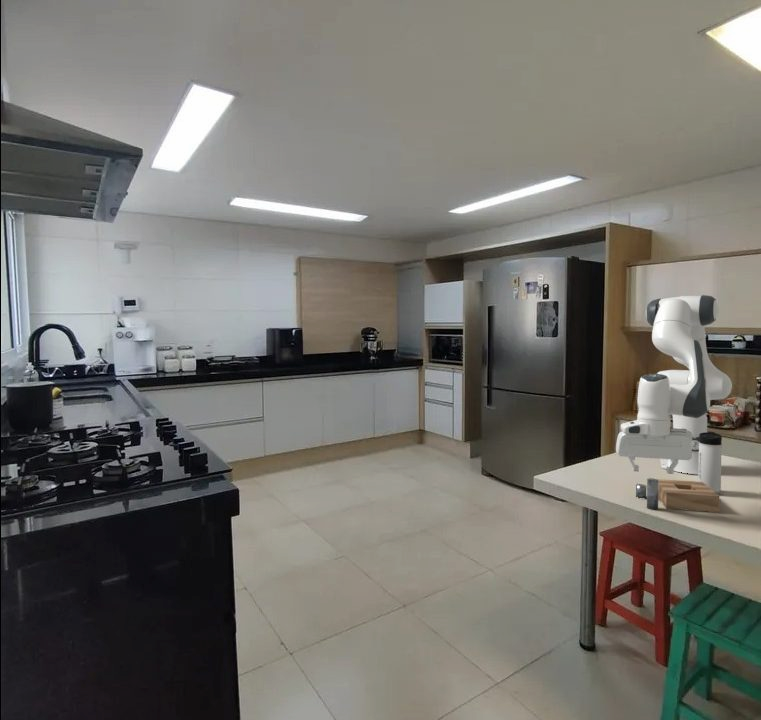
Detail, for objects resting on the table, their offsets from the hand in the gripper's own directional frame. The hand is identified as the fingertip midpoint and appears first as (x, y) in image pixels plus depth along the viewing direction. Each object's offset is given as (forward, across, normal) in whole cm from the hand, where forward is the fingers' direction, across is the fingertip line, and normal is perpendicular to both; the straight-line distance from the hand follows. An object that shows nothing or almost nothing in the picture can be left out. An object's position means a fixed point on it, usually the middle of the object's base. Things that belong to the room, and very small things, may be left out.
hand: (652, 472), depth 144 cm
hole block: (+11, -11, -8) cm, 18 cm away
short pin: (+11, +1, -10) cm, 15 cm away
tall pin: (+11, 0, 0) cm, 11 cm away
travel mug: (+11, -22, -22) cm, 33 cm away
